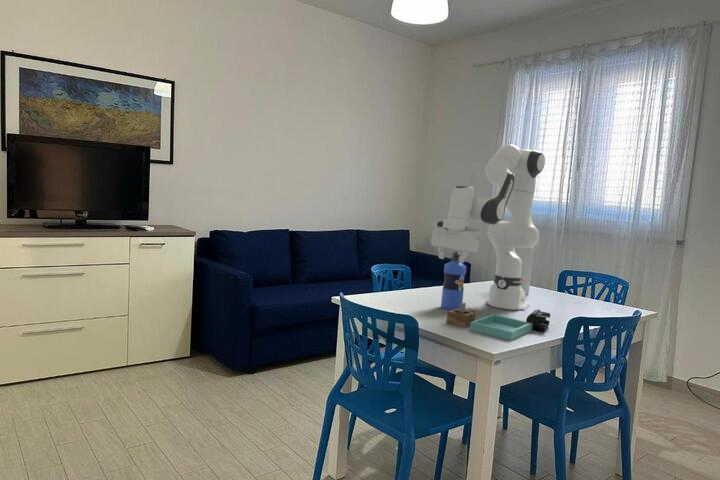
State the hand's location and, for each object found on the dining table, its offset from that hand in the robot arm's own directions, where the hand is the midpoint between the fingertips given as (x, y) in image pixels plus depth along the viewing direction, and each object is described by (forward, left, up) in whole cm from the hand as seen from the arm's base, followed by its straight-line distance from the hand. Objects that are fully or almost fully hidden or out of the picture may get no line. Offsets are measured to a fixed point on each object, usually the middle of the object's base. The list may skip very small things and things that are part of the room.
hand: (450, 260), depth 205 cm
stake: (0, +7, -24) cm, 25 cm away
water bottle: (-20, -8, -24) cm, 33 cm away
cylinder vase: (-86, -5, -24) cm, 90 cm away
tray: (-4, +22, -24) cm, 32 cm away
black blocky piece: (-20, +30, -24) cm, 43 cm away
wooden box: (-3, +7, -24) cm, 25 cm away
